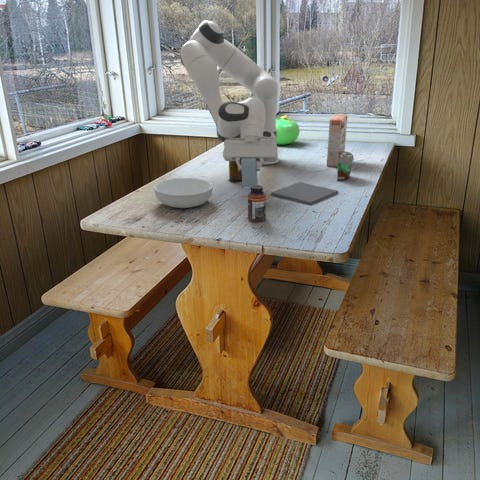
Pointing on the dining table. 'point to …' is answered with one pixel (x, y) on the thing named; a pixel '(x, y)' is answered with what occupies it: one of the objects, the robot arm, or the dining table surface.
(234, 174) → the condiment
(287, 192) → the rubber mat
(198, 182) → the serving bowl
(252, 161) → the slate-blue block
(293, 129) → the toy bird
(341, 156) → the food container
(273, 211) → the dining table surface
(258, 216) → the supplement bottle
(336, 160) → the cracker box
